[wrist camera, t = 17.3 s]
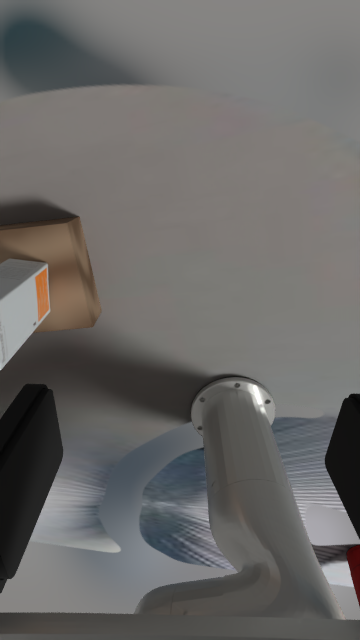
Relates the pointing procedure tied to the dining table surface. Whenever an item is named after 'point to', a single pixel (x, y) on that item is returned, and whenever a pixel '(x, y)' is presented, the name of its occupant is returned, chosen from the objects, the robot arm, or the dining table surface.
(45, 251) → the tan flat square block
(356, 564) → the plastic cup
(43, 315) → the skincare box
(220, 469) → the robot arm
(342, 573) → the dining table surface
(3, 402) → the dining table surface
